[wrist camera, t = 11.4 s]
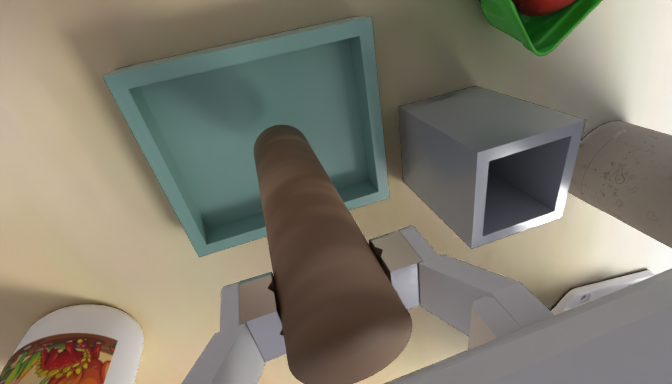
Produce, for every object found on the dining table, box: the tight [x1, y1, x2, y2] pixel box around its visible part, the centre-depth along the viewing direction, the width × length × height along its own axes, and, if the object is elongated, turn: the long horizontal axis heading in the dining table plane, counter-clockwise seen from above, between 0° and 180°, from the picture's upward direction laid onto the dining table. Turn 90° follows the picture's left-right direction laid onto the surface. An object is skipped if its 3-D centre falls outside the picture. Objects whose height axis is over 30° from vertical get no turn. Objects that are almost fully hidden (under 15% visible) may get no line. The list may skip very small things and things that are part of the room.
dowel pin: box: [253, 125, 412, 384], centre depth 13 cm, size 3×3×13 cm
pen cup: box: [398, 86, 585, 249], centre depth 22 cm, size 6×6×9 cm
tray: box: [102, 16, 390, 257], centre depth 21 cm, size 14×12×2 cm
